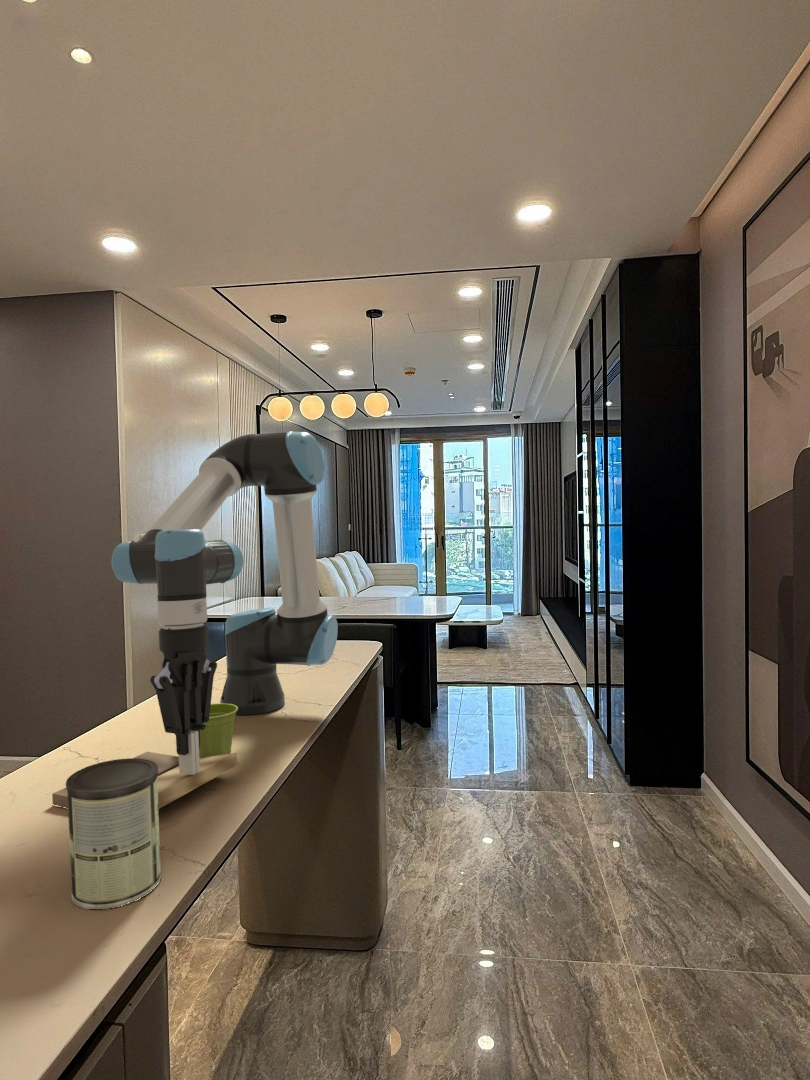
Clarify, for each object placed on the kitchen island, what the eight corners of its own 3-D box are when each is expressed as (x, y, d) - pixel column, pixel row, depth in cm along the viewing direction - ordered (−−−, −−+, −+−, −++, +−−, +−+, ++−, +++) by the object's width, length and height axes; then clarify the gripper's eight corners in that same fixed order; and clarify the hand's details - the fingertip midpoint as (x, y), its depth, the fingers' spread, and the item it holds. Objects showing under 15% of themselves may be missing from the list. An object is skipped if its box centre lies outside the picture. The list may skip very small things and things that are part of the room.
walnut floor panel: (147, 762, 123) (147, 751, 123) (190, 769, 119) (189, 758, 119) (52, 806, 104) (52, 793, 104) (98, 816, 101) (98, 802, 100)
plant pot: (186, 766, 120) (185, 719, 120) (189, 749, 129) (188, 705, 129) (239, 760, 123) (238, 714, 123) (238, 744, 132) (237, 701, 132)
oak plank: (195, 770, 118) (192, 759, 119) (239, 764, 114) (236, 752, 115) (104, 817, 100) (102, 804, 100) (153, 812, 96) (150, 798, 96)
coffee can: (55, 891, 80) (50, 776, 80) (135, 856, 88) (132, 752, 88) (95, 922, 74) (90, 798, 73) (178, 881, 82) (174, 769, 81)
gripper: (172, 632, 98) (178, 790, 98) (228, 620, 110) (234, 760, 110) (133, 631, 101) (140, 784, 101) (193, 619, 113) (199, 756, 113)
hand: (189, 772), depth 106 cm, fingers closed
